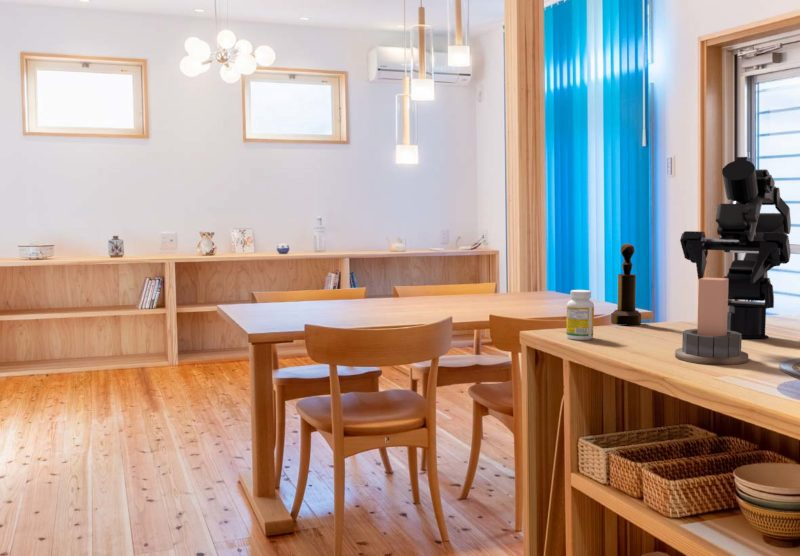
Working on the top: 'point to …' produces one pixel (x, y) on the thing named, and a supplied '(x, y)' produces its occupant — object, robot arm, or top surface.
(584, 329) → the supplement bottle
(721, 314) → the terracotta peg
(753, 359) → the top surface
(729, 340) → the socket
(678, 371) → the top surface
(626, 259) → the dark wooden chess piece
